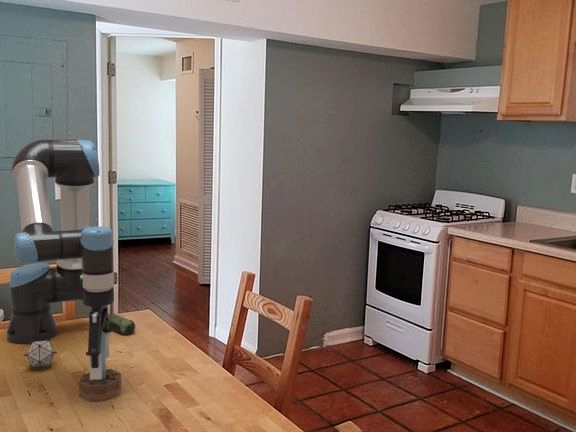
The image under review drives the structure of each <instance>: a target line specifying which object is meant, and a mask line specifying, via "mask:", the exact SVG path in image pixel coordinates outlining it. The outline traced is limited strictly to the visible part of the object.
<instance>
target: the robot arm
mask: <svg viewBox="0 0 576 432" xmlns="http://www.w3.org/2000/svg"><path fill="white" fill-rule="evenodd" d="M100 169H101V168H100V162H99V156H98V152H97V148H96V145H95V144H94V142H93V141H91V140H87V139H86V140H83V139H46V138H45V139H43V138H42V139H37V140H34V141H32V142H29V143H28V144H26V145H25V146H23V147H22V149H20V150H19V152H18V153H17V154H16V155H15V157H14V159H13V161H12V166H11V174H12V179H13V181H15V183H16V185H17V195H18V207H19V217H20V225H21V226H20V228H21V232H17V233H15V235H14V255H15V259H16V261H17V262H19V263H28V264H26V265H22V266H19V267H17V268H15V269H14V270H12V271H11V272H10V276H9V277H10V281H9V282H10V283H9V287H10V302H11V303H10V304H11V308H10V309H11V316H10V319H9V323H8V327H7V329H6V340H7V341H8V342H11V343H13V344H32V342H31V340H33V342H36V341H48V340H49V339H50V338H51V339H52V338H54V337H55V336H57V335H58V326H57V325H58V324H57V322H56V320H55V317H54V316H53V314H52V309H51V308H52V306H51V304H55V303H63V302H64V303H65V302H75V301H82V303H83V304H84V306H87V307H90V308H91V311H89V314H88V319H89V320H88V322H89V325H88V340H87V341H88V342H87V351H85V356H87V357H88V356H89V372H90V380H93V379H102V365H101V352H100V348H101V336H102V332H105V348H106V359H107V358H110V333H112V331H113V330H112V328H110V323H109V308H108V306H109V305H111V304H113V303H114V301H115V290H114V288H113V287H114V286H115V278H114V277H115V275H114V273H115V272H114V238H113V230H112V229H111V228H110V227H106V226H90V188H91V187H92V185H94V184H95V178H98V177H100ZM48 178H54V183H55V184H56V185H57V186H58V187H59V189H60V191H59V192H60V193H59V194H60V230H54V229H53V222H52V214H51V209H50V200H49V196H48V188H47V182H46V181H47V179H48ZM48 261H56V266H54V267H53V266H52V267H51V266H50V265H49V263H47V262H48Z"/></svg>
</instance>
